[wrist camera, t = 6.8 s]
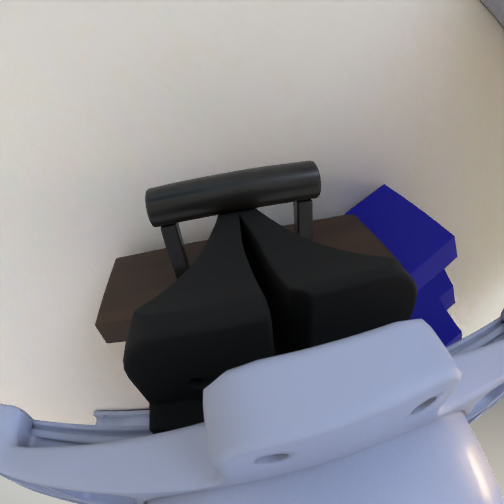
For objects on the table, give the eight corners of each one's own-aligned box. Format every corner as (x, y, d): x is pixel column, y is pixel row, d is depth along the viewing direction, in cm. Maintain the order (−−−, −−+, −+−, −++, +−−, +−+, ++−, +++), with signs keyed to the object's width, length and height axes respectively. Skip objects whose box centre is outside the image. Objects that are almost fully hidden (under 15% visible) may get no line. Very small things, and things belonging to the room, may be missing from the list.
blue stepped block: (435, 280, 21) (475, 327, 16) (396, 312, 22) (431, 363, 17) (401, 170, 15) (474, 217, 10) (345, 213, 16) (405, 277, 11)
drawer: (88, 184, 12) (45, 236, 8) (356, 137, 13) (418, 169, 9) (199, 412, 24) (203, 456, 20) (329, 385, 25) (345, 426, 22)
